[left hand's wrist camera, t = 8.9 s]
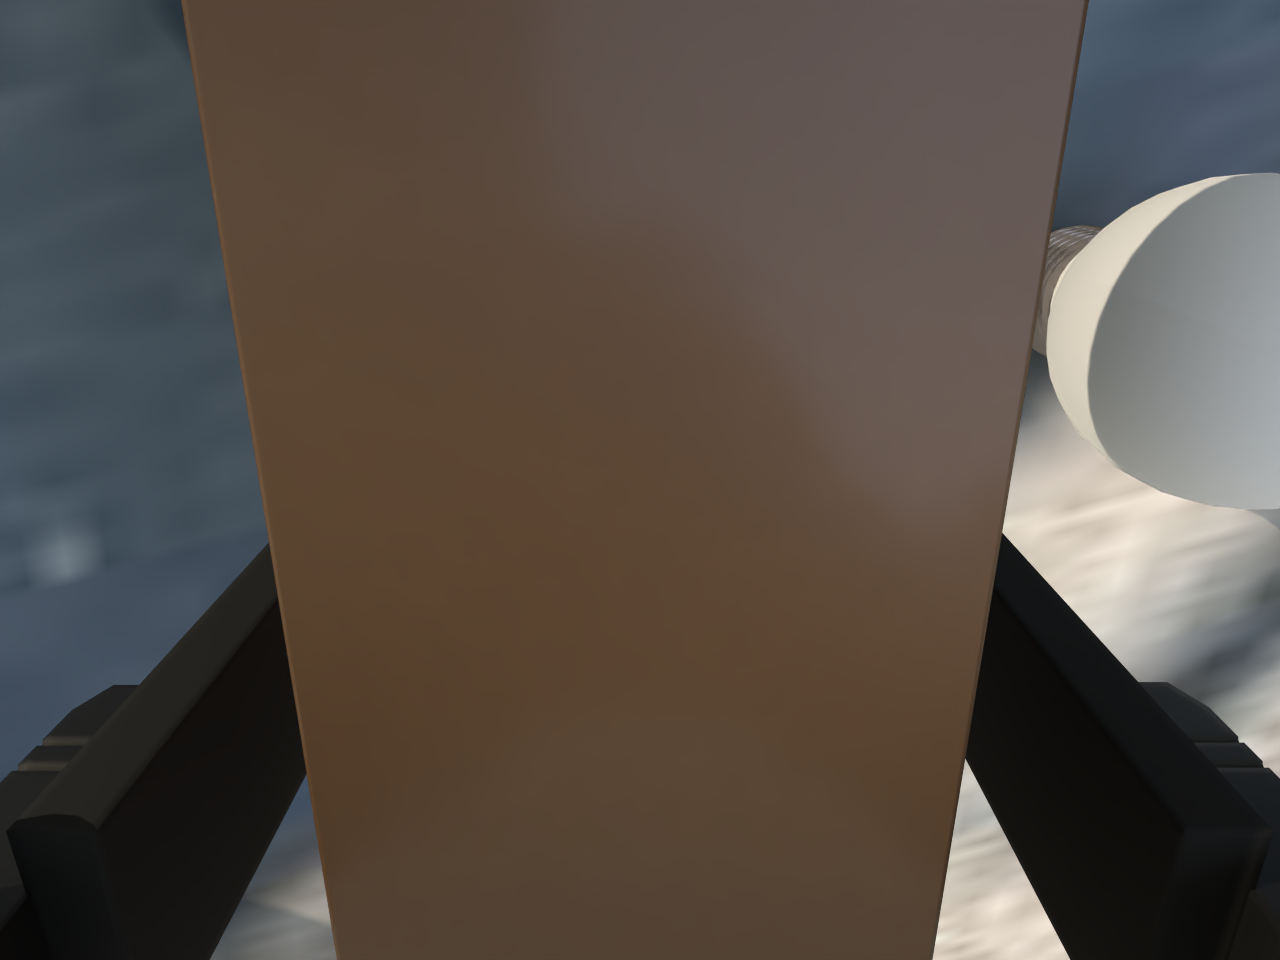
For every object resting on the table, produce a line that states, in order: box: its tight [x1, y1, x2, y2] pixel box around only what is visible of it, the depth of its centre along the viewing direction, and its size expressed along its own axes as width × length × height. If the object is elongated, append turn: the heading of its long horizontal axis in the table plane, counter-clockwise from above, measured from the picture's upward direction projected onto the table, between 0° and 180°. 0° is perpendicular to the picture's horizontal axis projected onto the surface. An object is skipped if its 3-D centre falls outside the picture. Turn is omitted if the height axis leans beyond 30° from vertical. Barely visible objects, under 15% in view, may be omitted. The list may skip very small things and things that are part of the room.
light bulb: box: [1032, 173, 1280, 509], centre depth 20 cm, size 7×7×11 cm
